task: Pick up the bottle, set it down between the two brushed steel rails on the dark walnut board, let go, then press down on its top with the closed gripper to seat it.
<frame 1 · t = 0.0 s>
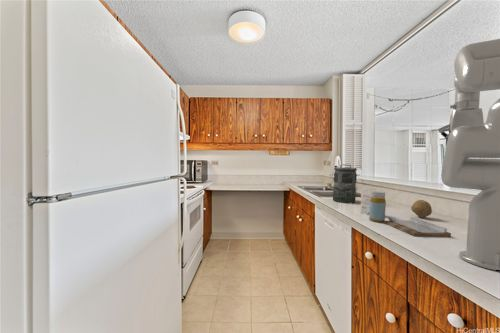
hand: (463, 147, 95), 37 cm above the countertop, tool pointing down, fingers open, 9 cm apart
steel rail mount: (415, 224, 101), on the walnut board, point 2 cm above the countertop
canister: (343, 201, 170), on the countertop
walnut board: (415, 229, 101), on the countertop
ink cartridge box: (369, 214, 130), on the countertop
bottle: (376, 221, 115), on the countertop
natural sponge: (420, 218, 125), on the countertop
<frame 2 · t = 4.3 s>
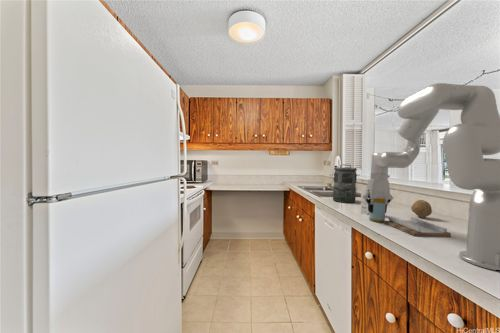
hand: (377, 211, 115), 5 cm above the countertop, tool pointing down, fingers closed on bottle, 6 cm apart
bottle: (376, 221, 115), on the countertop, touching gripper
everything else where it was.
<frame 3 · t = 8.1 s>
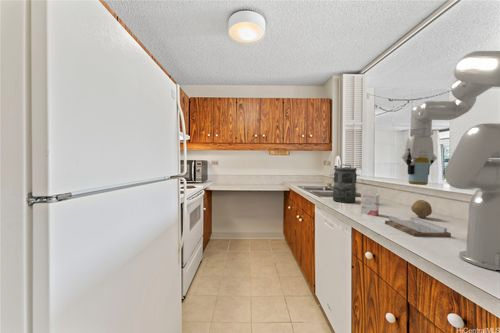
hand: (418, 174, 101), 25 cm above the countertop, tool pointing down, fingers closed on bottle, 6 cm apart
bottle: (417, 184, 101), point 20 cm above the countertop, touching gripper
everything else where it was.
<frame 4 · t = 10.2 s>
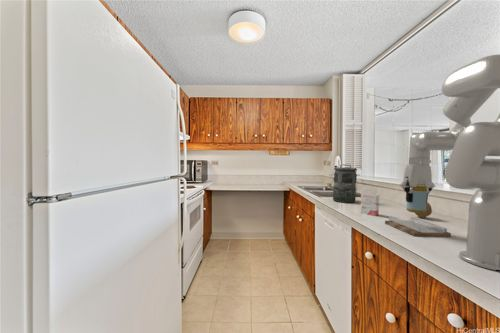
hand: (416, 201, 101), 13 cm above the countertop, tool pointing down, fingers closed on bottle, 6 cm apart
bottle: (415, 212, 101), point 8 cm above the countertop, touching gripper
everything else where it was.
when the fingers open (7 cm above the countertop, at t = 11.9 s): bottle stays where it is, resting on steel rail mount.
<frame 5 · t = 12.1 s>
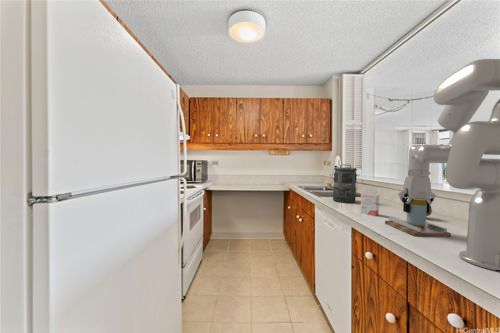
hand: (416, 212, 101), 8 cm above the countertop, tool pointing down, fingers open, 8 cm apart
bottle: (415, 226, 101), point 2 cm above the countertop, touching steel rail mount
everything else where it was.
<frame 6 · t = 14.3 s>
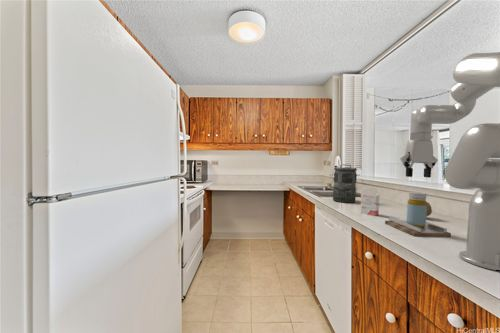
hand: (418, 176, 101), 24 cm above the countertop, tool pointing down, fingers open, 7 cm apart
nothing on the countertop moved.
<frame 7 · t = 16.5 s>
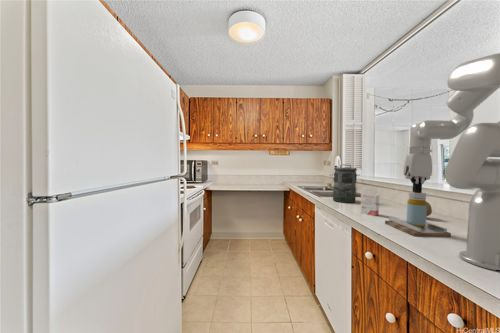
hand: (416, 192, 101), 17 cm above the countertop, tool pointing down, fingers closed
bottle: (415, 226, 101), point 2 cm above the countertop, touching gripper, steel rail mount
everything else where it was.
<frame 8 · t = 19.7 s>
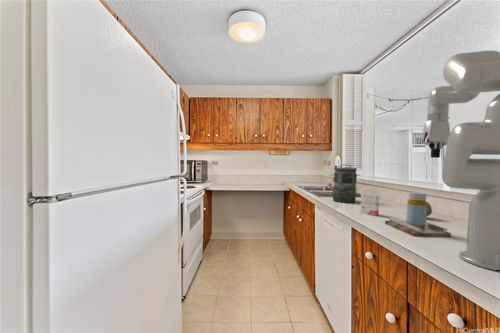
hand: (435, 157, 106), 33 cm above the countertop, tool pointing down, fingers closed
bottle: (415, 226, 101), point 2 cm above the countertop, touching steel rail mount
everything else where it was.
at the end: bottle inside the target area on the steel rail mount (0.2 cm from its centre), point 1.6 cm above the steel rail mount's base; bottle tilted 0°; the gripper is holding nothing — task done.
